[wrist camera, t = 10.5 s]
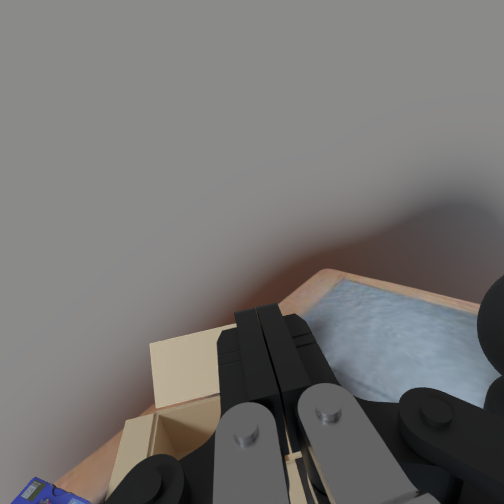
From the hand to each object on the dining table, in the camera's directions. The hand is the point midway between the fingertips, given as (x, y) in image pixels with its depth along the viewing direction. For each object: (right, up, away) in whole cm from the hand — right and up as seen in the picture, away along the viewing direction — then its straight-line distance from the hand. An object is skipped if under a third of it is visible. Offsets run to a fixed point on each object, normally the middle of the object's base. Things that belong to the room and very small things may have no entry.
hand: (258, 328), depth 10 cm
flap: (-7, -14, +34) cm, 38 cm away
